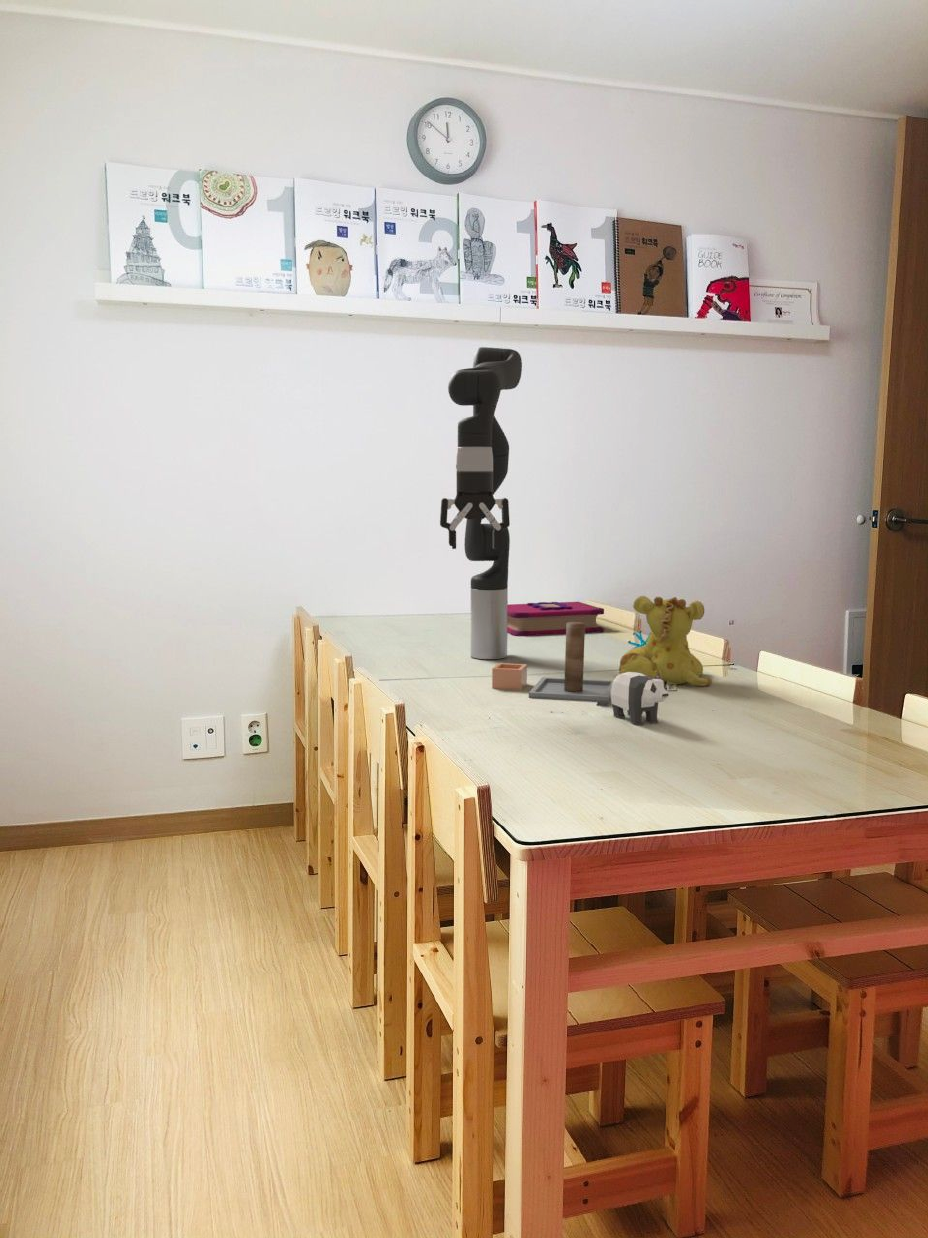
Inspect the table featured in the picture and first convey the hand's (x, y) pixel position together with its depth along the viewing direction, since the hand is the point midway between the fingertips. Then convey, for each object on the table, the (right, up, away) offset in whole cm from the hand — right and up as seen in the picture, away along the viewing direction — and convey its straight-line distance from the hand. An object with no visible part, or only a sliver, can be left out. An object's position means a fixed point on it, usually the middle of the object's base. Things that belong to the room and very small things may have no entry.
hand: (474, 548), depth 211 cm
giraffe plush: (+43, -28, +17) cm, 54 cm away
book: (+22, -18, +90) cm, 94 cm away
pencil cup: (+8, -30, +5) cm, 31 cm away
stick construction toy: (+44, -25, +44) cm, 67 cm away
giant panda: (+30, -34, -22) cm, 50 cm away
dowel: (+21, -29, 0) cm, 36 cm away
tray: (+21, -30, 0) cm, 37 cm away
